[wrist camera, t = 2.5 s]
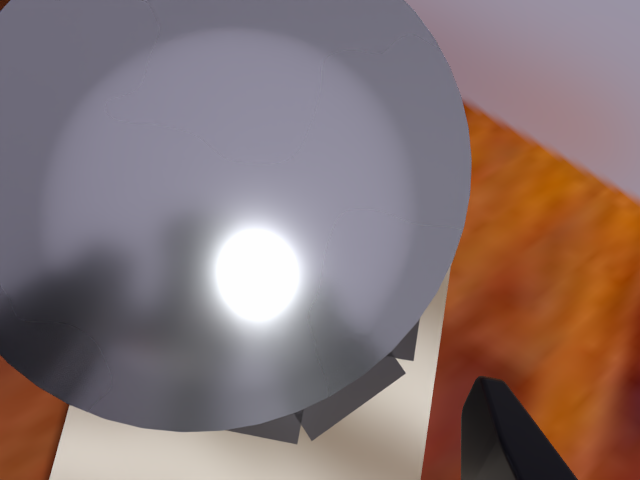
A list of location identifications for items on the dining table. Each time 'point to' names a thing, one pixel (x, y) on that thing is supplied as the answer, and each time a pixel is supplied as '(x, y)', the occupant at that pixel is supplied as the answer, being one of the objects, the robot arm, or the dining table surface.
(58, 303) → the grey round cylinder
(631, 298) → the dining table surface
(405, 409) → the ring stand
